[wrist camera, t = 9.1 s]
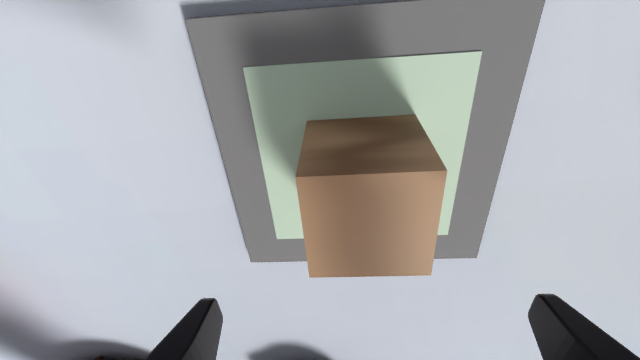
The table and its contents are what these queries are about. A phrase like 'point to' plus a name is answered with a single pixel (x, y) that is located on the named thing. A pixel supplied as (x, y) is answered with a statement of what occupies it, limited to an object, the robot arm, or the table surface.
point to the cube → (369, 196)
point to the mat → (364, 99)
